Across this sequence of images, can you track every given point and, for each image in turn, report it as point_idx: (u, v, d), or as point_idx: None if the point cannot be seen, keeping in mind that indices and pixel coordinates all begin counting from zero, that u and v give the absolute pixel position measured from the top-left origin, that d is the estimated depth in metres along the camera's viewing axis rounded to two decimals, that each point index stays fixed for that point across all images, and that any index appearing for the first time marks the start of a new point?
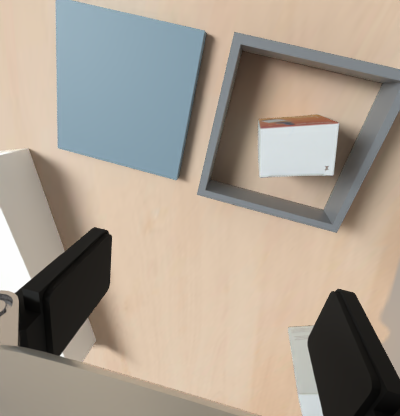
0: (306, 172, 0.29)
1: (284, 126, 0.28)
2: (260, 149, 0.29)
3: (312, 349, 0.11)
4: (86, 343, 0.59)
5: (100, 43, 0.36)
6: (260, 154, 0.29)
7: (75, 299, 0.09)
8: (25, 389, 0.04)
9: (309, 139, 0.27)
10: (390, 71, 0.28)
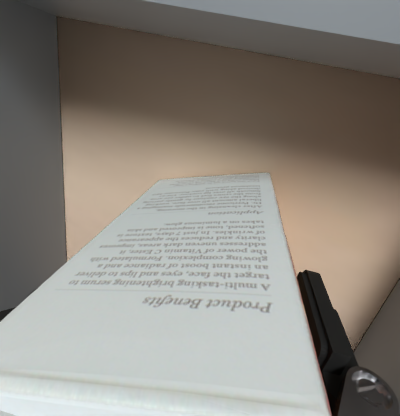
0: None
1: None
2: (139, 399, 0.03)
3: None
4: None
5: None
6: (100, 395, 0.03)
7: None
8: None
9: None
10: None
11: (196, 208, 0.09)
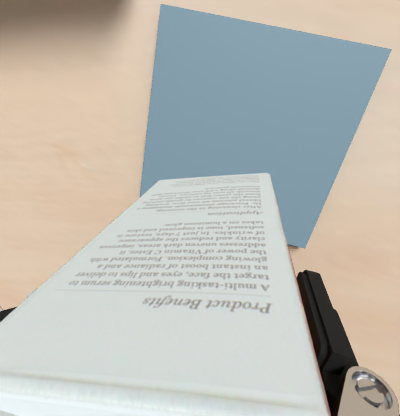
0: None
1: None
2: (139, 399, 0.03)
3: None
4: None
5: (313, 119, 0.25)
6: (100, 396, 0.03)
7: None
8: None
9: None
10: None
11: (196, 208, 0.09)
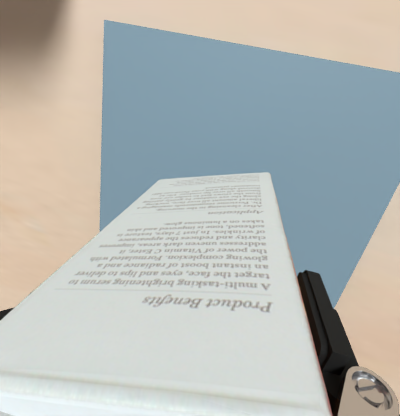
0: None
1: None
2: (139, 399, 0.03)
3: None
4: None
5: (330, 178, 0.17)
6: (99, 395, 0.03)
7: None
8: None
9: None
10: None
11: (196, 207, 0.09)
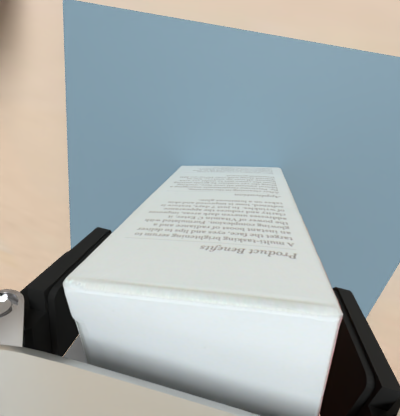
0: None
1: None
2: (214, 299, 0.05)
3: None
4: None
5: (347, 197, 0.14)
6: (185, 297, 0.05)
7: None
8: (25, 389, 0.04)
9: None
10: None
11: (223, 190, 0.10)
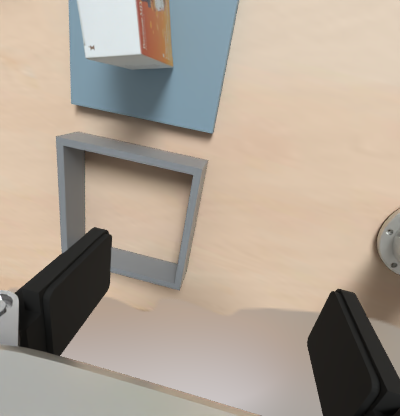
0: (83, 21, 0.23)
1: None
2: None
3: (312, 349, 0.11)
4: None
5: (200, 4, 0.30)
6: None
7: (75, 299, 0.09)
8: (25, 389, 0.04)
9: (120, 17, 0.22)
10: (179, 276, 0.41)
11: None
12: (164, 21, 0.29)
